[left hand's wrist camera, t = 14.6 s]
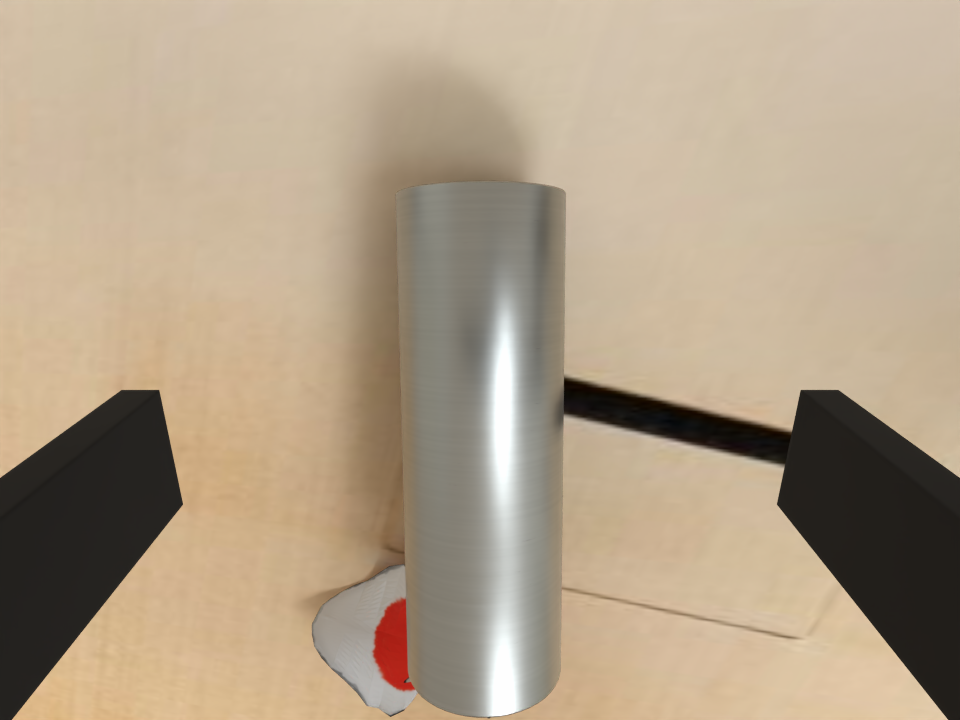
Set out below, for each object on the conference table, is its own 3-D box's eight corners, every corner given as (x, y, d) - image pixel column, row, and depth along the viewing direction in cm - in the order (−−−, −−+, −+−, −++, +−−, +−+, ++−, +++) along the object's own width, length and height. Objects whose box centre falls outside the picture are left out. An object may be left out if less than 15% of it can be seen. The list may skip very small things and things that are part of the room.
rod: (392, 203, 32) (398, 178, 24) (539, 205, 34) (590, 182, 26) (404, 628, 36) (412, 729, 28) (537, 614, 37) (582, 706, 29)
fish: (510, 755, 42) (472, 849, 32) (334, 632, 46) (254, 681, 37) (578, 617, 42) (560, 670, 32) (395, 507, 46) (331, 524, 37)
